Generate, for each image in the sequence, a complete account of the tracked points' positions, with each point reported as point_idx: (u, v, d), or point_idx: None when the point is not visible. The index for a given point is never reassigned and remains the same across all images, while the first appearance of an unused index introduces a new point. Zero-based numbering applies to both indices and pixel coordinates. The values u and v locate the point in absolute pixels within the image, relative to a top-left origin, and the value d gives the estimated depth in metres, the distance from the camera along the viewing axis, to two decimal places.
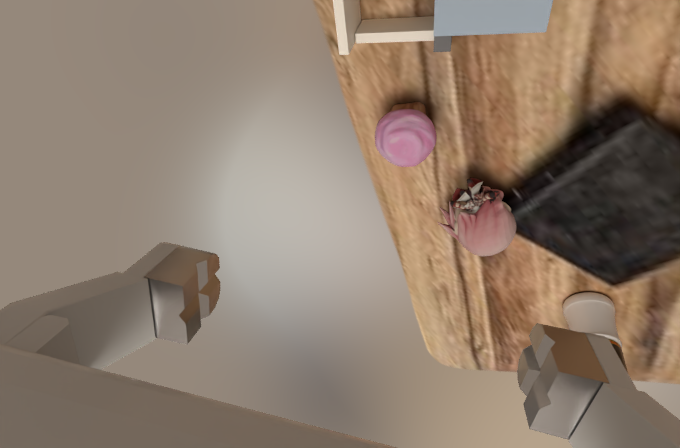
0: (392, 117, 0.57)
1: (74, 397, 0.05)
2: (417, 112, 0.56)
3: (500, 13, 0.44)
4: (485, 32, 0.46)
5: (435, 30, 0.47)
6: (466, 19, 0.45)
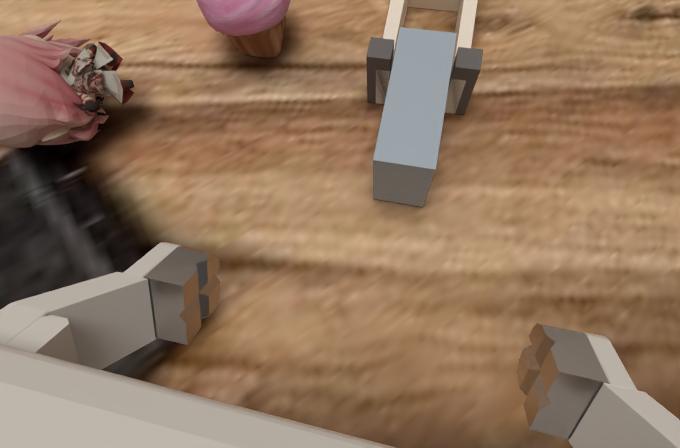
0: None
1: (74, 397, 0.05)
2: (282, 11, 0.36)
3: (413, 104, 0.31)
4: (390, 87, 0.31)
5: (407, 30, 0.33)
6: (414, 65, 0.32)
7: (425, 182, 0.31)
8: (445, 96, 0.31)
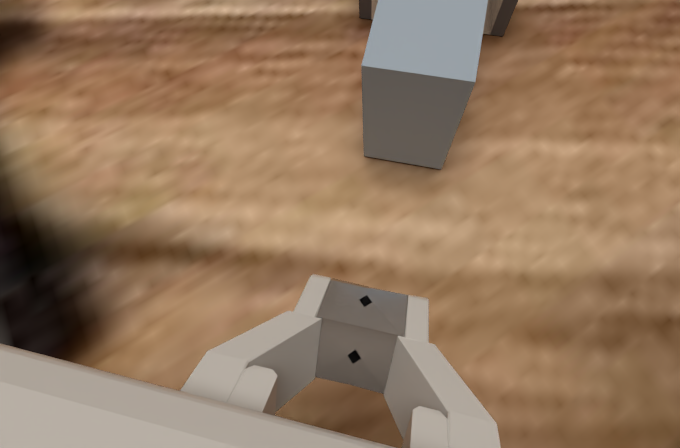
0: None
1: (74, 396, 0.05)
2: None
3: None
4: None
5: None
6: None
7: (451, 115, 0.18)
8: None
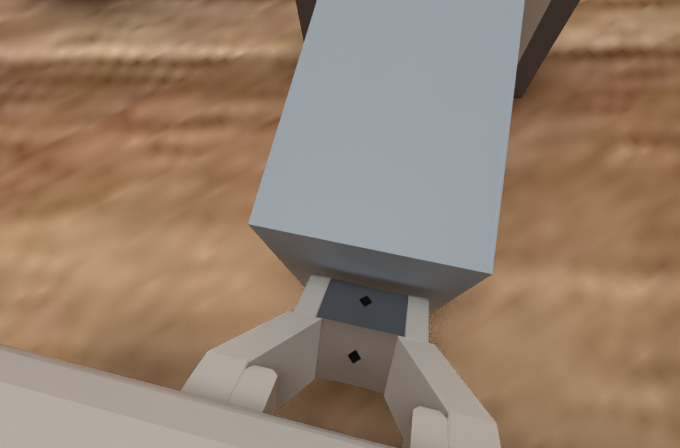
0: None
1: (74, 397, 0.05)
2: None
3: (409, 28, 0.09)
4: None
5: None
6: None
7: (441, 290, 0.09)
8: (519, 2, 0.09)
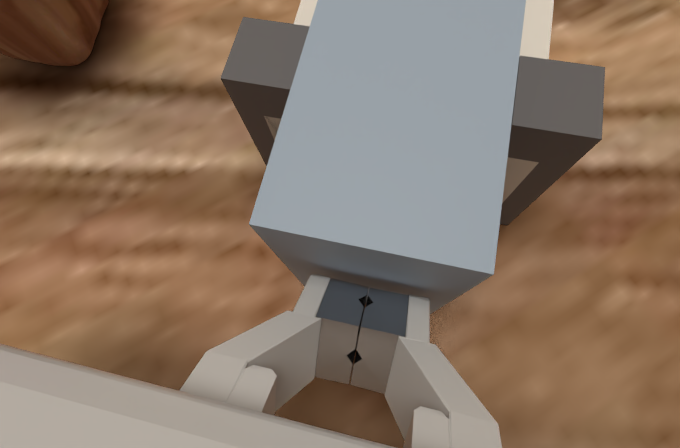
0: None
1: (74, 397, 0.05)
2: None
3: (410, 28, 0.09)
4: None
5: None
6: None
7: (442, 290, 0.09)
8: (520, 1, 0.09)
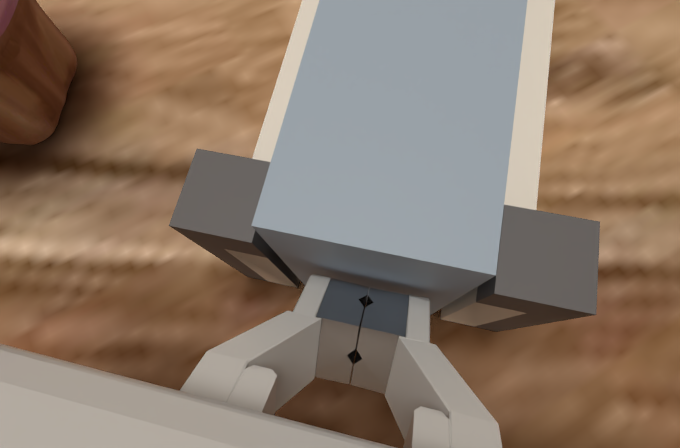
0: None
1: (74, 397, 0.05)
2: None
3: (412, 29, 0.09)
4: None
5: None
6: None
7: (444, 290, 0.09)
8: (521, 2, 0.09)
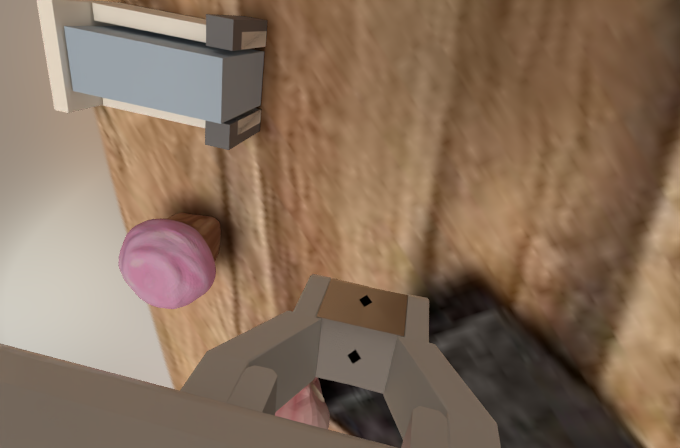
0: (146, 227, 0.36)
1: (74, 397, 0.05)
2: (186, 229, 0.37)
3: (156, 79, 0.29)
4: (141, 103, 0.30)
5: (74, 82, 0.31)
6: (112, 76, 0.30)
7: (237, 62, 0.30)
8: (140, 43, 0.28)
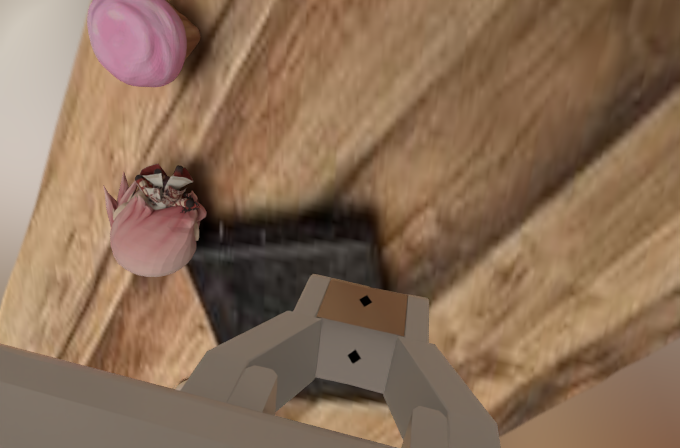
0: None
1: (73, 397, 0.05)
2: (177, 19, 0.37)
3: None
4: None
5: None
6: None
7: None
8: None
